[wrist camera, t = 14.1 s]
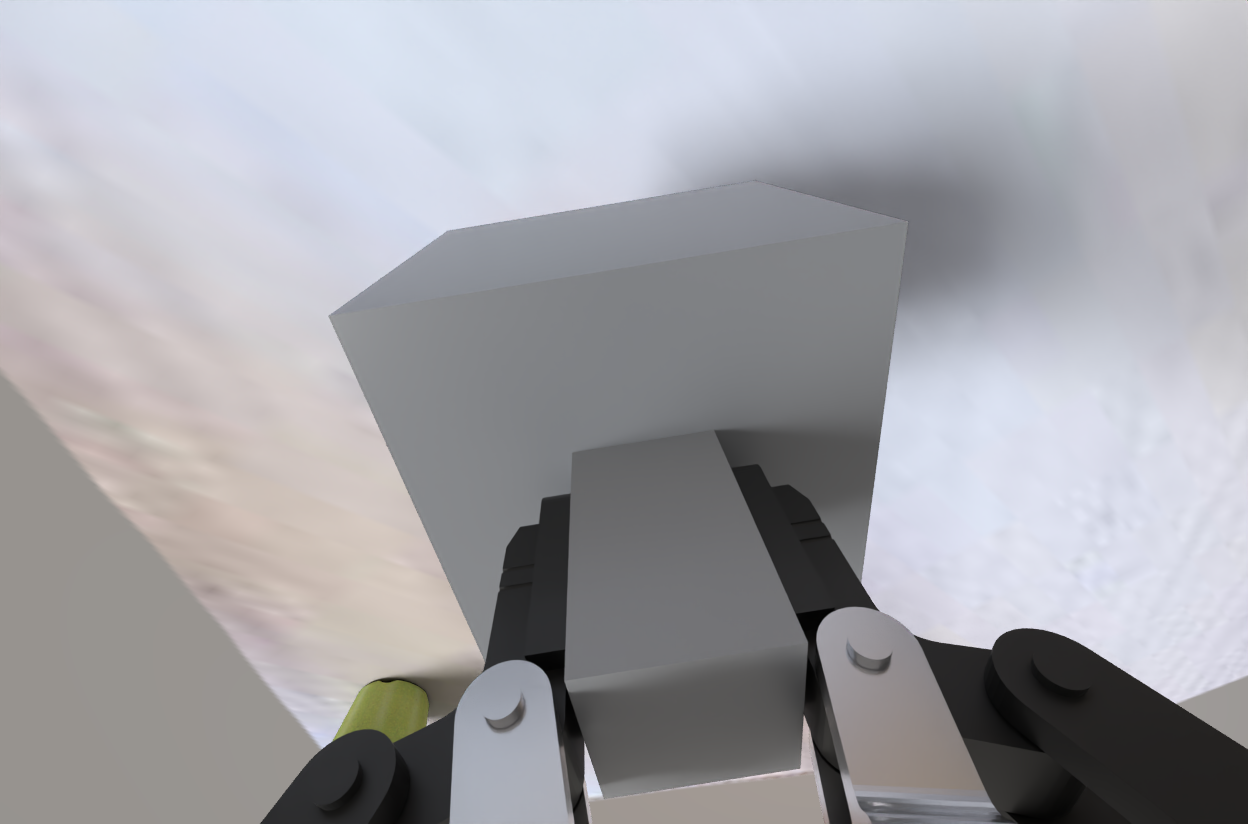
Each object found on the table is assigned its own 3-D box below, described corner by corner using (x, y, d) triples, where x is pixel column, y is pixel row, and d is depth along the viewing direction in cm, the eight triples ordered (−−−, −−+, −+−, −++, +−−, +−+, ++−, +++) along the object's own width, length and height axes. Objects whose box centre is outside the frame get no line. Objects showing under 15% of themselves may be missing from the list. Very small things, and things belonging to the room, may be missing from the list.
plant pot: (470, 693, 45) (448, 806, 38) (409, 738, 48) (377, 852, 40) (378, 651, 41) (332, 767, 34) (318, 703, 44) (264, 820, 37)
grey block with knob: (755, 180, 16) (1242, 310, 4) (758, 440, 21) (986, 837, 9) (447, 230, 16) (73, 498, 4) (522, 478, 21) (444, 921, 9)
